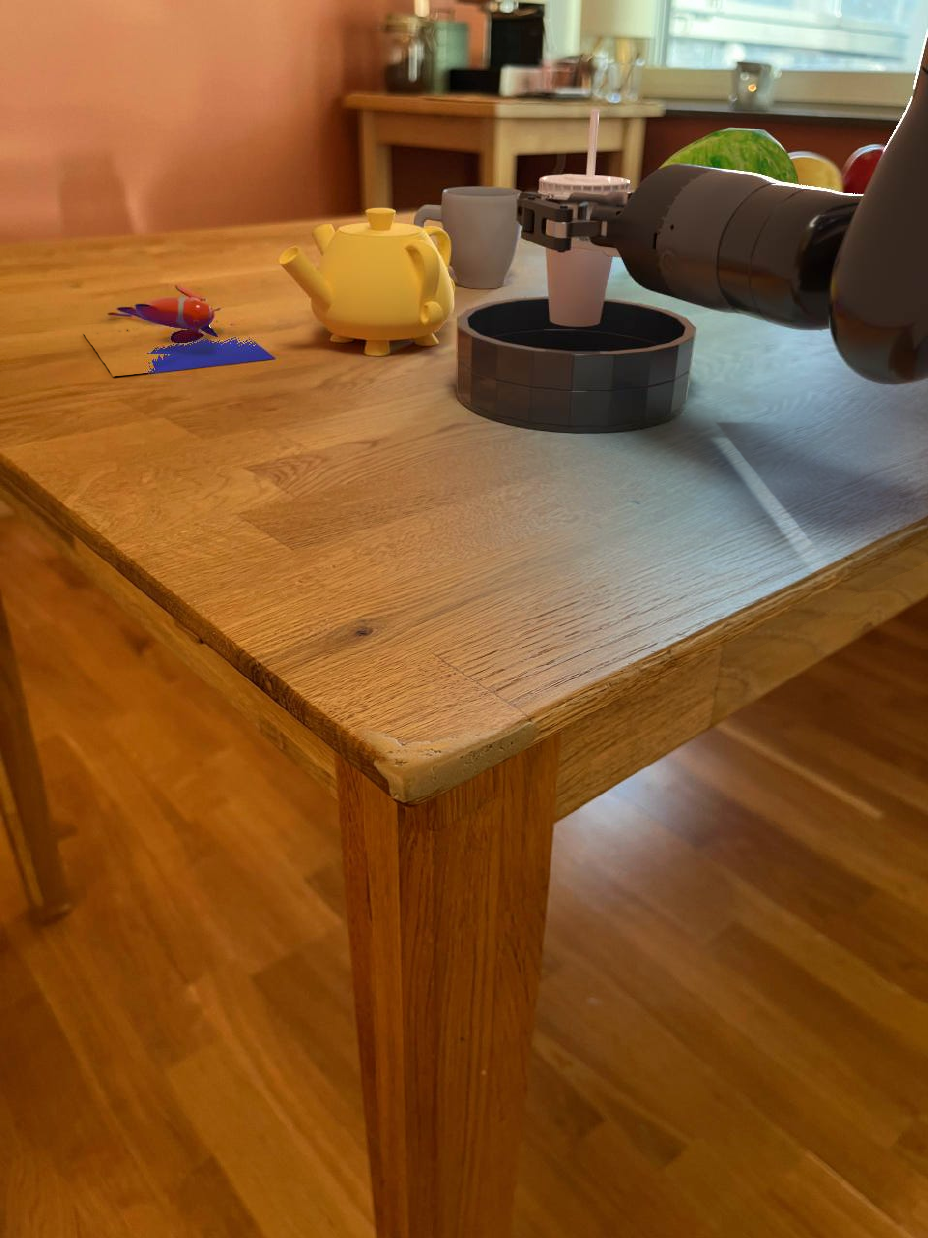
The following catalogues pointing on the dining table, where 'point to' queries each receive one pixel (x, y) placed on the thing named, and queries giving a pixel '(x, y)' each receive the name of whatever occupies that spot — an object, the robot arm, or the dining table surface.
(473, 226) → the mug
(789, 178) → the lettuce
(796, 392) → the dining table surface
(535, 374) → the pot
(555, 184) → the smoothie
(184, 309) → the fish
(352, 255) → the teapot
